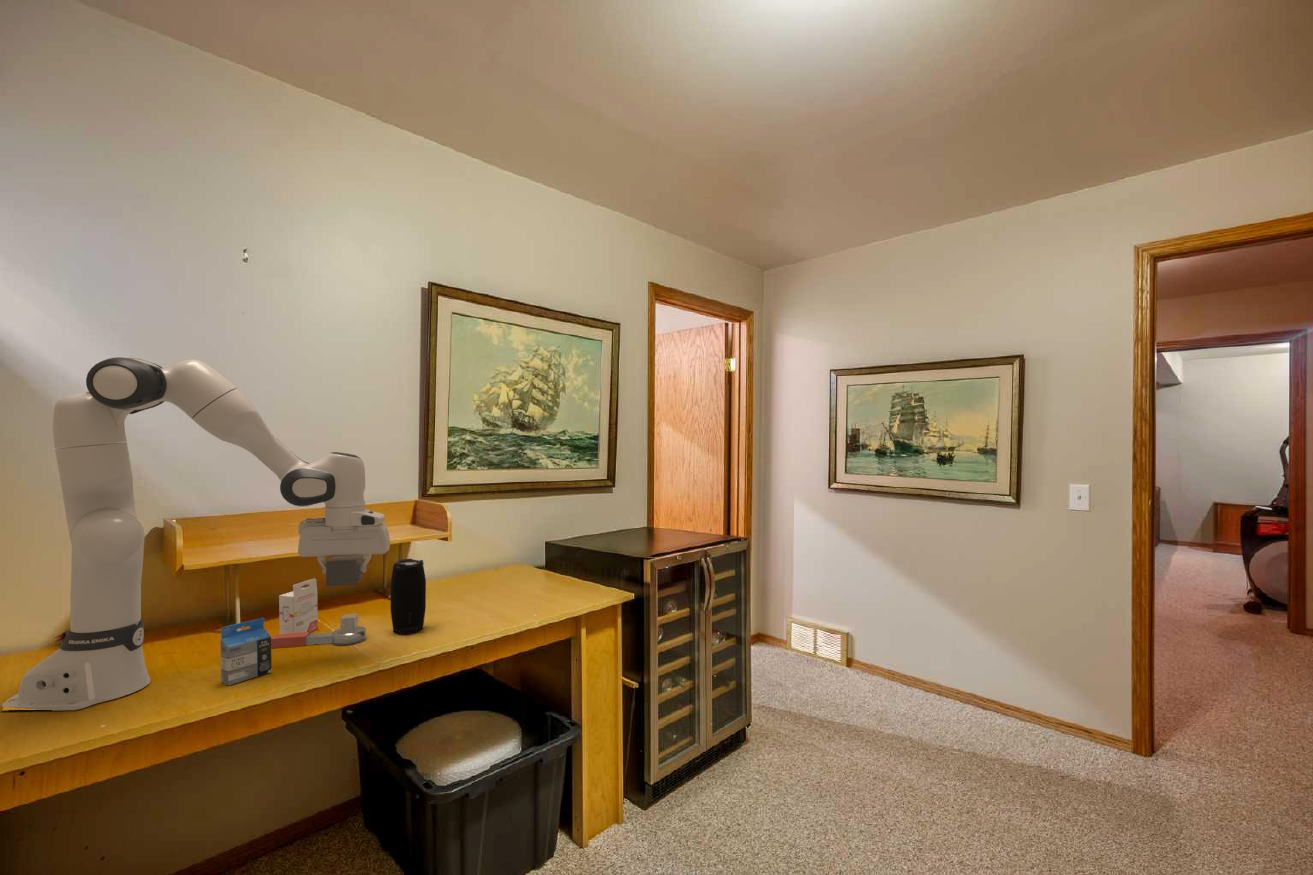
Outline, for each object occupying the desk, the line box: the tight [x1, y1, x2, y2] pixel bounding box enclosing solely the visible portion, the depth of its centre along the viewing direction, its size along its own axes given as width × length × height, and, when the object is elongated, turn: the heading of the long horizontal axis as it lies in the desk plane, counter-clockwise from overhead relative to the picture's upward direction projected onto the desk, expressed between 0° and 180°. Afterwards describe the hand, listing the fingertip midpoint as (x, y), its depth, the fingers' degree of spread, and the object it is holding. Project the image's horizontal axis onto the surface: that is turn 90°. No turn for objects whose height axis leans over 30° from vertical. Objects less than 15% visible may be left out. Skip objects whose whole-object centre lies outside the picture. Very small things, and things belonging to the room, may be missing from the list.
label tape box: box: [220, 617, 273, 686], centre depth 132 cm, size 9×4×12 cm, turn 147°
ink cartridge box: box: [278, 577, 319, 634], centre depth 162 cm, size 9×5×15 cm, turn 168°
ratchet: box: [271, 613, 367, 649], centre depth 155 cm, size 22×8×6 cm, turn 104°
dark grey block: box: [325, 555, 364, 587], centre depth 145 cm, size 7×7×6 cm
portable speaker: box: [390, 558, 427, 636], centre depth 165 cm, size 9×9×20 cm
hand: (344, 572), depth 145 cm, fingers closed on dark grey block, 7 cm apart
